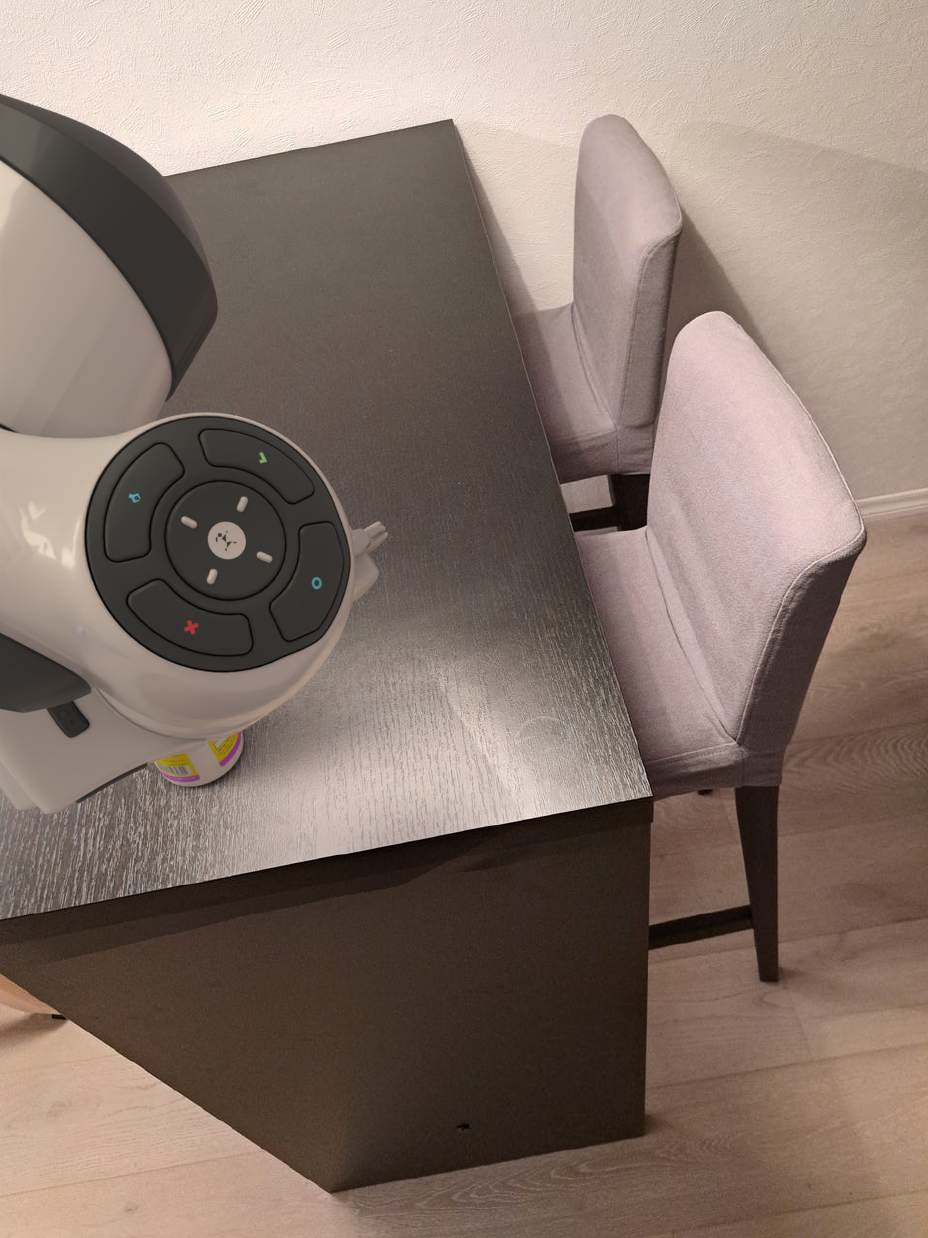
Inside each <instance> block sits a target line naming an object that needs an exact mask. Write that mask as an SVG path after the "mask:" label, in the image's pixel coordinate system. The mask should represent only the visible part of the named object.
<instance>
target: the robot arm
mask: <svg viewBox="0 0 928 1238" xmlns="http://www.w3.org/2000/svg"><path fill="white" fill-rule="evenodd" d="M218 305H219V304H218V296H217V292H216V286H215V283H214V279H213V275H212V271H211V267H210V265H209V260H208V258H207V254H206V252H205V249H204V246H203V243H202V241H201V239H200V236H199V234H198V231H197V229H196V226H195V225H194V222H193V220H192V218H191V216H190V214H189V212H188V210H187V209H186V207H185V205H184V203H183V201H182V200H181V198H180V197H179V195H178V193H177V192H176V190H175V189H174V188H173V186H172V185H171V184H170V182H169V181H168V179H166V177H164V175H162V173H161V172H159V170H158V169H156V167H154V166H153V165H152V164H151V163H150V162H149V161H147V160H146V159H145V158H144V157H142V156H141V155H140V154H138V153H137V152H136V151H134V150H133V149H132V148H130V147H128V146H127V145H125V144H124V143H122V142H121V141H119V140H117V139H115V138H113V137H112V136H110V135H108V134H106V133H104V132H102V131H101V130H98V129H96V128H94V127H92V126H90V125H88V124H86V123H83V122H81V121H78V120H76V119H74V118H72V117H69V116H66V115H64V114H61V113H58V112H56V111H54V110H53V111H52V110H50V109H47V108H45V107H41V106H39V105H35V104H33V103H30V102H27V101H24V100H20V99H18V98H14V97H12V96H8V95H5V94H3V93H0V790H1V792H2V793H3V795H4V796H5V798H6V799H7V801H8V802H9V803H10V805H11V806H12V807H13V809H14V810H16V811H18V812H29V811H32V810H35V809H37V808H38V809H39V810H40V811H41V812H42V813H43V814H44V815H46V816H52V815H56V814H60V813H62V812H64V811H65V810H67V809H68V808H70V807H72V806H73V805H75V804H80V803H82V802H84V801H85V800H87V799H89V798H91V797H93V796H94V795H96V794H98V793H99V792H101V791H102V790H105V789H107V788H109V787H110V786H112V785H114V784H115V783H117V782H119V781H121V780H123V779H125V778H127V777H129V776H131V775H133V774H135V773H138V772H140V771H142V770H145V769H146V768H147V767H149V765H151V764H154V762H155V761H158V760H161V759H164V758H167V757H171V756H174V755H178V754H182V753H186V752H189V751H193V750H197V749H199V748H201V747H203V746H204V745H205V744H206V742H211V741H215V740H220V739H223V738H226V737H229V736H231V735H234V734H236V733H239V732H240V731H242V732H243V731H244V730H246V729H248V728H250V727H251V726H252V725H254V724H256V723H257V722H258V721H260V720H261V719H263V718H264V717H266V716H267V715H268V714H270V713H271V712H272V711H274V710H276V709H277V708H278V707H280V706H282V705H283V704H285V703H286V702H288V701H289V700H290V699H291V698H293V697H294V696H295V695H297V694H298V692H299V691H301V689H303V688H304V687H305V686H306V685H307V683H308V682H310V680H312V679H313V677H314V676H315V675H316V673H317V672H318V671H319V670H320V668H322V666H323V665H324V663H325V662H326V661H327V660H328V658H329V657H330V655H331V654H332V652H333V651H334V649H335V647H336V646H337V644H338V642H339V640H340V638H341V636H342V634H343V632H344V630H345V628H346V625H347V622H348V620H349V616H350V613H351V609H352V605H353V603H354V602H355V601H357V600H358V599H360V598H361V597H363V596H364V595H365V594H366V593H368V591H370V590H371V588H372V587H373V586H374V585H375V583H376V582H377V580H378V579H379V576H380V571H379V568H378V567H377V565H376V563H375V562H374V560H373V558H372V557H371V555H370V553H371V552H373V551H374V550H375V549H377V548H379V546H381V544H382V543H383V542H385V540H386V539H388V537H389V532H388V529H387V526H386V525H384V524H382V522H381V521H376V522H374V523H372V524H371V525H369V526H368V527H365V528H361V527H359V528H356V529H353V528H352V526H351V525H350V524H349V521H348V517H347V515H346V512H345V509H344V506H343V505H342V503H341V501H340V499H339V497H338V494H337V493H336V491H335V490H334V488H333V487H332V485H331V484H330V482H329V480H328V479H327V477H326V476H325V475H324V472H322V470H321V469H320V468H319V466H318V465H317V464H316V463H315V462H314V460H313V459H312V458H311V457H310V456H309V455H308V454H307V453H306V452H304V451H303V450H302V448H301V447H299V446H298V444H296V443H294V442H293V441H292V440H290V439H289V438H288V437H286V436H284V435H283V434H282V433H280V432H279V431H277V430H275V429H273V428H271V427H269V426H267V425H265V424H263V423H260V422H258V421H255V420H252V419H249V418H246V417H243V416H240V415H235V414H229V413H223V412H211V411H210V412H209V411H207V412H205V411H203V412H187V413H181V414H177V415H171V416H168V417H164V418H161V419H158V417H159V415H160V413H161V410H162V408H163V406H164V404H165V403H167V402H168V401H170V399H171V398H172V396H173V395H174V394H175V392H176V390H177V388H178V387H179V385H180V384H181V381H182V380H183V378H184V377H185V375H186V373H187V372H188V370H189V368H190V366H191V365H192V364H193V361H194V360H195V358H196V356H197V355H198V353H199V351H200V350H201V348H202V346H203V344H204V343H205V342H206V339H207V337H209V334H210V332H211V331H212V329H213V327H214V326H215V323H216V322H217V317H218V313H219V312H218V310H219V306H218ZM157 419H158V420H157Z"/></svg>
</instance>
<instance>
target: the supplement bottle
mask: <svg viewBox="0 0 928 1238" xmlns="http://www.w3.org/2000/svg"><path fill="white" fill-rule="evenodd" d="M243 748H244V734H243V730H242V731H240V732H239V733H236V734H234V735H231V736H229V737H226V738H223V739H220V740H215V741H211V742H206V744H205V745H204V746H203V747H201V748H199V749H197V750H193V751H189V752H186V753H182V754H178V755H174V756H171V757H167V758H164V759H161V760H158V761H155V762H153V764H154V765H155V767H156V768H157V769H158V771H159V772H160V773H161V775H162V776H163V777H164V778H165V779H166V780H167V781H169V782H170V783H172V784H173V785H177V786H180V787H188V788H190V787H191V788H193V787H200V786H204V785H206V784H209V783H211V782H213V781H216V780H217V779H219V778H221V777H222V776H224V775H225V774H226V773H228V772H229V771H230V770H231V769H232V768H233V767H234V766H235V764H236V763H237V762H238V760H239V759H240V756H241V754H242V752H243Z"/></svg>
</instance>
